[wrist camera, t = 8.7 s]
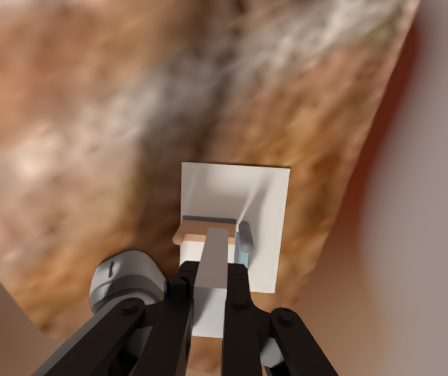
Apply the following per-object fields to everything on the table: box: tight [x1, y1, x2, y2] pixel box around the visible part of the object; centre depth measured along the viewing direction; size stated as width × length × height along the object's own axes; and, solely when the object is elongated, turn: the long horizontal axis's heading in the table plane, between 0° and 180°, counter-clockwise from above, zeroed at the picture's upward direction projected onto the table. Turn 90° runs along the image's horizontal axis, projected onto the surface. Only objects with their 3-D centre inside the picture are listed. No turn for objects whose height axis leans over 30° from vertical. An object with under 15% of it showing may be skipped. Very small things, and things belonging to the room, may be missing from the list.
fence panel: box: [173, 220, 236, 245], centre depth 33 cm, size 8×1×6 cm, turn 86°
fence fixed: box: [238, 221, 254, 268], centre depth 34 cm, size 11×2×7 cm, turn 177°
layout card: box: [180, 162, 290, 293], centre depth 36 cm, size 21×16×1 cm
